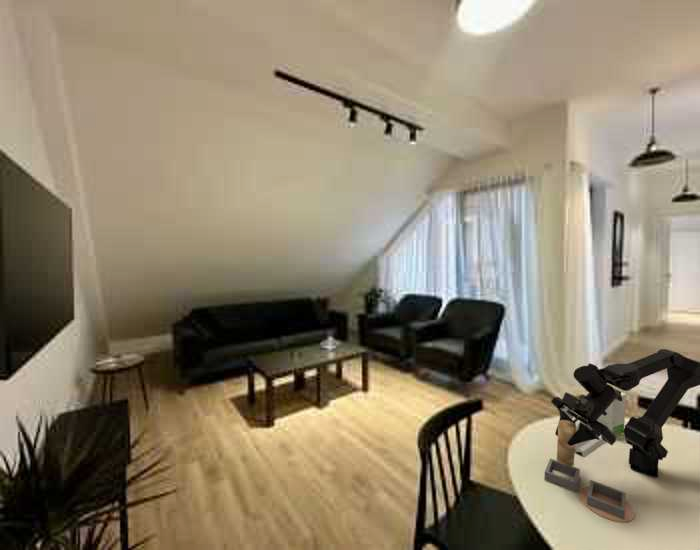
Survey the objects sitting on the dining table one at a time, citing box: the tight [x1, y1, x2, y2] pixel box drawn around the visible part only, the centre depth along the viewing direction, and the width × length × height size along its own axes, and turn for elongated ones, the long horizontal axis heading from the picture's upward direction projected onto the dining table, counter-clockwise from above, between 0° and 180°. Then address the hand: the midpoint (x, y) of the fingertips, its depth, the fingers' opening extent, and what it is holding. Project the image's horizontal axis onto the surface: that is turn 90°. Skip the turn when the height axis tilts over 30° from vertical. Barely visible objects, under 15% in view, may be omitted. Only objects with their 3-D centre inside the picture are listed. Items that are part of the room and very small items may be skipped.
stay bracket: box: [579, 479, 635, 523], centre depth 92 cm, size 12×12×3 cm
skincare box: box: [597, 391, 627, 437], centre depth 125 cm, size 8×7×16 cm
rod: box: [556, 419, 576, 467], centre depth 101 cm, size 4×4×12 cm
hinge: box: [572, 417, 607, 458], centre depth 119 cm, size 17×5×10 cm, turn 121°
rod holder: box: [544, 458, 581, 493], centre depth 103 cm, size 8×8×2 cm
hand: (562, 439), depth 100 cm, fingers closed on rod, 4 cm apart
